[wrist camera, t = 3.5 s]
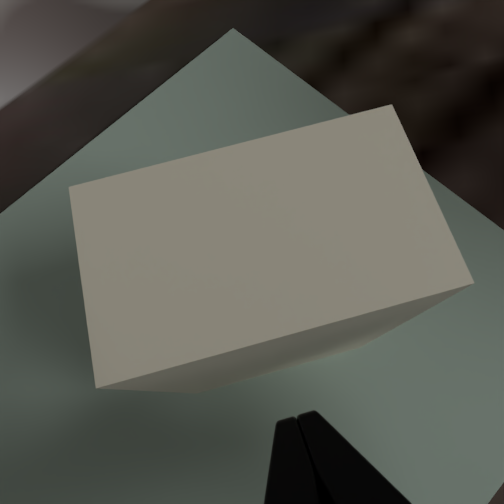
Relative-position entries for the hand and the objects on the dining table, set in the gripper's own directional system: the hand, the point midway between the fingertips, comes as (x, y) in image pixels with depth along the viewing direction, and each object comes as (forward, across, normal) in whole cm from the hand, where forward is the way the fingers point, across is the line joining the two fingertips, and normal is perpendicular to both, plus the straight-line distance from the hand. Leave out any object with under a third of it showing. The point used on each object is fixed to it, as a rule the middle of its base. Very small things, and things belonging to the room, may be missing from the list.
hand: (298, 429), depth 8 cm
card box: (+7, 0, +2) cm, 7 cm away
